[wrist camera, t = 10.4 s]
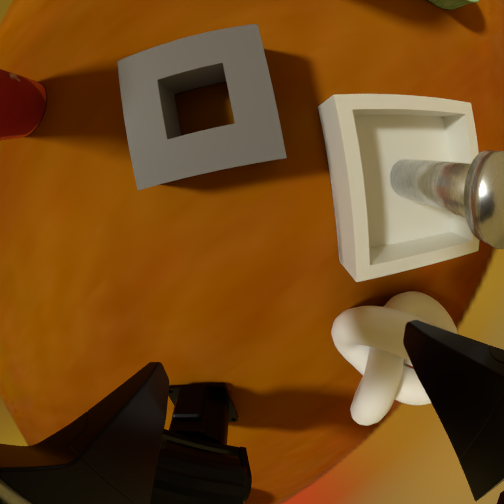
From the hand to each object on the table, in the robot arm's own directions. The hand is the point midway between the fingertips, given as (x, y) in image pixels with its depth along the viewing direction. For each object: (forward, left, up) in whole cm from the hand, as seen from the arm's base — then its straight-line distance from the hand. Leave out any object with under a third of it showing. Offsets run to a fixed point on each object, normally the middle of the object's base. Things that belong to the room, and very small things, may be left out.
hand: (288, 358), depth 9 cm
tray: (+4, -11, -13) cm, 17 cm away
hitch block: (+11, +3, -13) cm, 17 cm away
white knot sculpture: (-11, -9, -13) cm, 19 cm away
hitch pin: (+4, -11, -12) cm, 17 cm away
